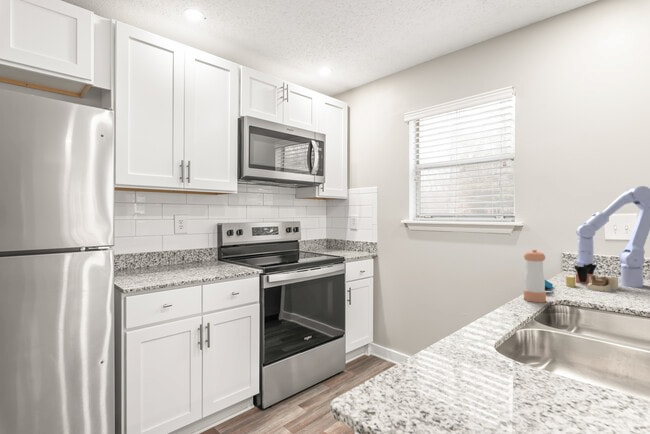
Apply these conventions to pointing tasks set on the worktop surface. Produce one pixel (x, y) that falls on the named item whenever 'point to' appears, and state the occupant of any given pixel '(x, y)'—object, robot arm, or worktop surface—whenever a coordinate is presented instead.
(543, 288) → the salt shaker
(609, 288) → the jig
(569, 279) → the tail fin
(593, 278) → the brown curved piece
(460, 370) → the worktop surface
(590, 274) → the pink flat block
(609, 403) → the worktop surface
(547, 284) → the lever
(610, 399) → the worktop surface
